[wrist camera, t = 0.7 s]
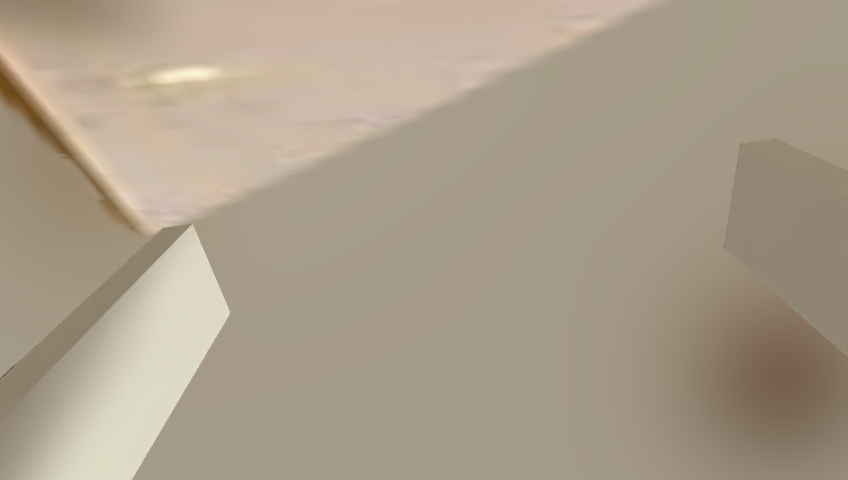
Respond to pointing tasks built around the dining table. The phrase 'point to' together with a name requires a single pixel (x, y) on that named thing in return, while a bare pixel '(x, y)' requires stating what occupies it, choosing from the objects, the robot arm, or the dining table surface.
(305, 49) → the dining table surface
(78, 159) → the dining table surface
